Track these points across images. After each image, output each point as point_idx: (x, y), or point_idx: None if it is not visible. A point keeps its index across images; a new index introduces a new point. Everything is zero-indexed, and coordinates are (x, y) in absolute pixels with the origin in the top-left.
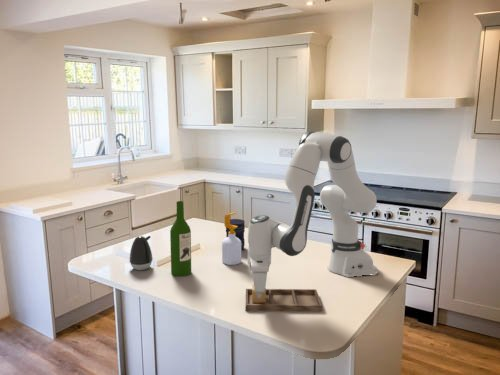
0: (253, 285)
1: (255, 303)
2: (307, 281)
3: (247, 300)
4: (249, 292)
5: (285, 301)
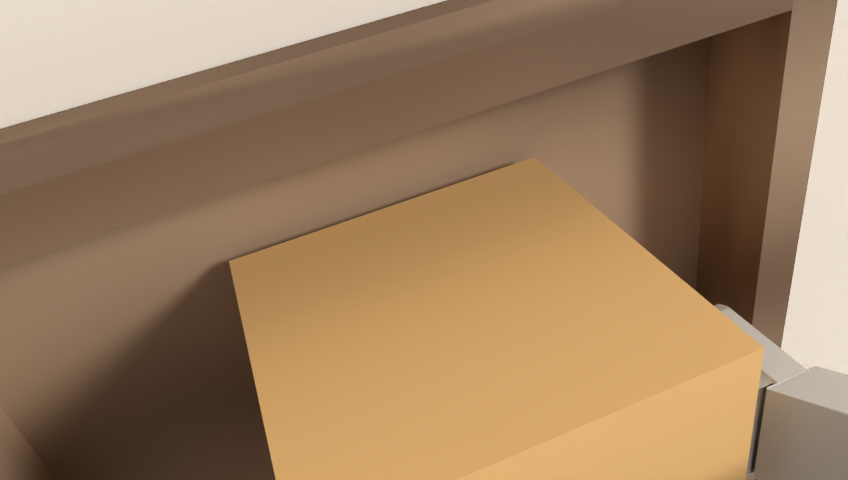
0: (693, 406)
1: (240, 317)
2: None
3: (103, 223)
4: (728, 34)
5: None
